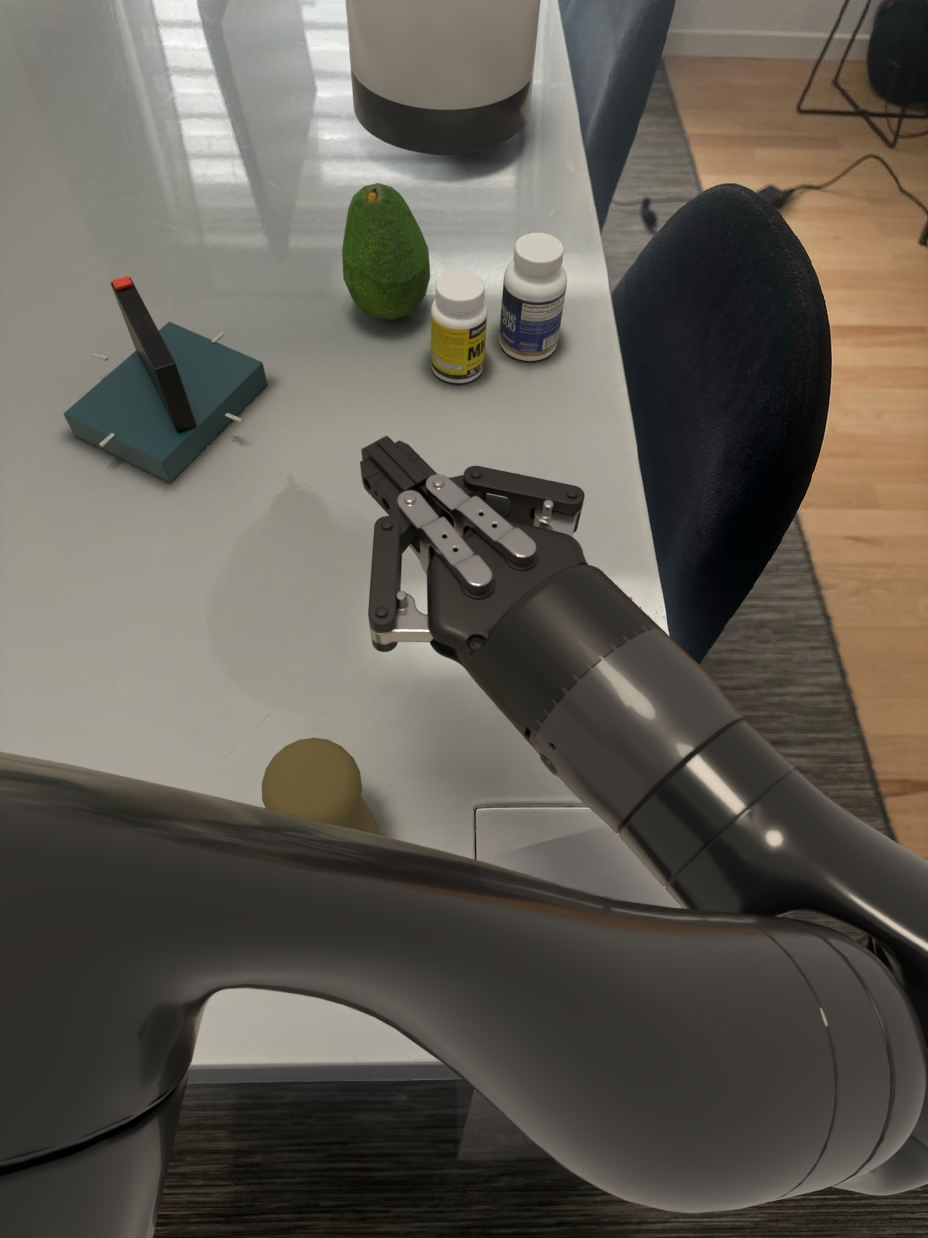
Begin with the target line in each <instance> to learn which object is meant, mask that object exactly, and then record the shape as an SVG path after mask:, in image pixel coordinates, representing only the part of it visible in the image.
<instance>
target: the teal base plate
mask: <svg viewBox="0 0 928 1238" xmlns="http://www.w3.org/2000/svg"><path fill="white" fill-rule="evenodd" d="M158 331H159V332H160V334H161V336H162V338H163V340H164V342H165V344H166V346H167V348H168V350H169V351H170V353H171V355H172V357H173V359H174V361H175V363H176V366H177V369H178V372H179V375H180V378H181V380H182V383H183V386H184V389H185V392H186V395H187V398H188V401H189V404H190V407H191V410H192V413H193V416H194V419H195V422H196V425H197V427H195V428H192V429H189V430H186V431H183V432H180V433H177V431H176V429H175V427H174V425H173V423H172V421H171V419H170V417H169V415H168V413H167V411H166V409H165V407H164V405H163V403H162V401H161V399H160V397H159V395H158V393H157V391H156V389H155V387H154V385H153V383H152V381H151V379H150V377H149V375H148V373H147V371H146V369H145V367H144V365H143V363H142V361H141V359H140V357H139V355H138V353H137V351H136V350H135V351H134V352H132V353H130V355H129V356H128V357H127V358H125V359H124V360H123V361H122V362H120V363H119V365H117V366H116V367H115V368H114V369H113V370H111V372H109V373H108V374H107V375H106V376H104V378H102V379H101V380H100V381H99V382H97V384H96V385H95V386H93V387H92V388H91V389H89V390H88V391H87V392H86V393H85V394H84V395H83V396H82V397H80V398H79V399H78V400H76V402H75V403H74V404H73V405H71V406H70V407H69V408H68V409H66V410H65V412H63V416H64V418H65V421H66V422H67V424H68V426H69V428H70V430H71V432H72V434H73V436H74V437H76V438H78V439H80V440H82V441H84V442H86V443H88V444H91V445H93V446H94V447H97V448H98V449H100V450H102V451H105V452H107V453H109V454H111V455H113V456H114V457H117V458H118V459H121V460H123V461H125V462H127V463H129V464H131V465H133V466H134V467H138V468H139V469H141V470H143V471H145V472H147V473H149V474H151V475H153V476H155V477H157V478H159V479H161V480H164V481H165V482H167V483H169V484H170V483H172V482H173V481H174V480H175V479H176V478H177V477H178V476H179V475H180V473H182V472H183V471H184V470H185V469H186V468H187V467H188V466H189V465H190V464H191V463H192V462H193V461H194V460H195V458H197V457H198V456H199V455H200V454H201V453H202V452H203V451H204V449H206V447H208V446H209V444H210V443H211V442H213V441H214V440H215V438H216V437H217V436H219V434H221V432H222V431H223V430H225V428H226V427H227V426H228V425H229V424H230V423H231V422H232V421H234V422H236V423H238V424H240V423H241V422H242V421H243V419H242V418H240V417H238V415H239V414H241V412H242V411H243V410H244V409H246V407H247V406H249V404H250V403H251V402H252V401H253V400H254V399H255V398H256V397H257V396H258V395H259V394H260V393H261V392H262V391H263V390H264V389H265V388H266V387H267V385H268V380H267V376H266V372H265V367H264V362H263V361H260V360H258V359H256V358H254V357H252V356H249V355H247V354H245V353H242V352H241V351H238V350H236V349H233V348H231V347H228V346H226V345H225V344H222V343H220V342H219V341H220V340H221V339H222V338H223V337H224V336H225V335H226V334H225V332H223V331H220V332H219V333H218V334H217V335H216V336H215V337H213V339H211V338H208V337H206V336H203V335H201V334H199V333H196V332H195V331H192V330H189V329H188V328H185V327H183V326H181V325H178V324H176V323H174V322H172V321H168V322H167V323H166V324H164V325H163V326H161V328H159V329H158ZM92 356H93V357H95V358H97V359H100V360H102V361H104V362H107V361H108V360H109V357H108V356H105V355H104V354H102V353H100V352H97V351H94V352H93V353H92Z"/></svg>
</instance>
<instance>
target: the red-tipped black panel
mask: <svg viewBox="0 0 928 1238" xmlns="http://www.w3.org/2000/svg"><path fill="white" fill-rule="evenodd" d="M110 287H111V288H112V292H113V294H114V296H115V299H116V302H117V304H118V308H119V309H120V312H121V315H122V317H123V320H124V322H125V323H124V324H125V325H126V327H127V328H126V329H127V330H128V333H129V335H130V338H131V341H132V344H133V346H134V349H135V351H137V353H138V355H139V357H140V359H141V361H142V363H143V365H144V367H145V369H146V371H147V373H148V375H149V377H150V379H151V381H152V383H153V385H154V387H155V389H156V391H157V393H158V395H159V397H160V399H161V401H162V403H163V405H164V407H165V409H166V411H167V413H168V415H169V417H170V419H171V421H172V423H173V425H174V427H175V429H176V431H177V433H180V432H183V431H186V430H189V429H192V428H195V427H197V425H196V422H195V419H194V416H193V413H192V410H191V407H190V404H189V401H188V398H187V395H186V392H185V389H184V386H183V383H182V380H181V378H180V375H179V372H178V369H177V366H176V363H175V361H174V359H173V357H172V355H171V353H170V351H169V350H168V348H167V346H166V344H165V342H164V340H163V338H162V336H161V334H160V332H159V329H158V327H157V324H156V323H155V320H154V319H153V317H152V316H151V313H150V312H149V310H148V308H147V306H146V304H145V302H144V300H143V298H142V296H141V295H140V293H139V291H138V288H137V286H136V285H135V283H134V281H133V279H132V277H130V276H129V275H125V276H123V277H119V278H115V279H112V280H111V282H110Z"/></svg>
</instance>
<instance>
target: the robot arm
mask: <svg viewBox="0 0 928 1238" xmlns="http://www.w3.org/2000/svg"><path fill="white" fill-rule="evenodd" d="M360 450H361V451H360V452H361V461H359V468H360V476H361V483H362V485H363V488H364V490H365V491H366V492H367V494H369V495H370V496H371V498H372V499H373V500H374V501H375V502H376V503H377V504H378V505H379V507H381V509H382V510H383V511H384V512H385V513H386V514H387V515H383V516H380V517H379V518H378V519H377V520H376V521H375V522H374V525H373V538H372V551H371V553H372V554H371V565H370V566H371V567H370V581H369V593H368V606H367V607H368V609H367V617H368V627H369V633H370V638H371V639H370V640H371V644H372V647H373V648H374V649H375V650H376V651H378V652H381V653H388V652H392V651H393V650H395V649H396V647H397V646H398V644H399V643H429V644H430V646H431V648H432V649H433V650H434V651H435V652H436V654H438V655H440V656H442V657H444V658H447V659H450V660H452V661H454V662H455V663H457V664H459V666H462V667H463V668H464V669H465V671H466V672H467V673H468V675H469V676H470V677H471V678H472V680H473V681H474V682H475V683H476V684H477V686H478V687H479V688H480V689H481V690H482V692H483V693H484V694H486V696H487V697H488V698H489V699H490V701H491V702H492V703H493V704H494V705H495V706H496V707H497V709H498V710H499V711H500V712H501V713H502V714H503V715H504V716H505V718H506V719H507V720H508V721H509V722H510V723H511V725H512V726H513V727H514V728H515V729H516V730H517V732H519V733H520V735H521V736H522V737H523V738H524V740H526V742H527V743H528V744H529V745H530V747H532V748H533V750H534V751H535V752H536V753H537V755H538V756H539V760H540V762H542V764H543V765H544V766H545V767H546V769H547V770H548V771H549V772H550V773H551V774H552V775H553V776H556V777H557V778H558V779H560V780H561V781H562V783H563V784H564V785H565V786H566V787H567V789H568V790H569V791H571V792H572V794H574V796H575V797H576V798H577V799H578V800H579V801H581V803H583V804H584V805H585V806H586V807H587V808H588V809H589V810H591V811H592V812H593V813H594V814H595V815H596V816H598V817H599V818H600V819H601V820H602V821H603V822H604V823H605V824H607V825H608V826H609V827H610V829H611V830H612V831H613V832H614V833H615V834H618V836H619V838H620V840H622V843H624V844H625V845H626V846H627V848H628V849H630V851H631V852H632V853H633V854H634V856H636V858H638V860H639V861H640V862H641V863H642V864H643V866H644V867H645V868H646V869H647V870H648V871H649V872H650V874H651V875H652V876H653V877H654V878H655V879H656V880H657V881H658V883H659V884H660V885H661V886H662V887H664V889H665V891H666V892H667V893H668V894H669V895H670V896H671V897H672V899H673V900H674V901H675V902H676V903H677V904H678V905H679V906H680V907H673V906H666V905H658V904H652V903H645V902H639V901H633V900H627V899H622V898H618V897H617V898H616V897H612V896H609V895H603V894H599V893H595V892H593V891H592V892H590V891H587V890H584V889H580V888H576V887H572V886H569V885H565V884H562V883H557V882H554V881H551V880H547V879H544V878H541V877H537V876H534V875H531V874H526V873H523V872H520V871H518V870H517V871H516V870H513V869H509V868H506V867H503V866H500V865H496V864H492V863H489V862H486V861H483V860H478V859H474V858H471V857H467V856H464V855H459V854H455V853H452V852H448V851H444V850H440V849H437V848H432V847H428V846H425V845H420V844H417V843H412V842H409V841H405V840H400V839H395V838H392V837H388V836H383V835H380V834H379V835H376V834H372V833H367V832H363V831H359V830H355V829H351V828H347V827H342V826H338V825H334V824H330V823H326V822H321V821H317V820H313V819H309V818H305V817H300V816H296V815H292V814H288V813H283V812H279V811H275V810H271V809H266V808H265V807H263V806H257V805H253V804H249V803H244V802H240V801H237V800H233V799H227V798H223V797H219V796H215V795H211V794H206V793H203V792H202V793H201V792H198V791H193V790H188V789H183V788H179V787H176V786H170V785H166V784H161V783H157V782H152V781H149V780H148V781H147V780H144V779H143V780H142V779H139V778H134V777H129V776H124V775H119V774H115V773H111V772H106V771H101V770H96V769H93V768H88V767H84V766H80V765H74V764H70V763H64V762H59V761H54V760H48V759H43V758H38V757H33V756H32V757H31V756H26V755H20V754H15V753H9V752H5V751H0V1238H154V1234H155V1230H156V1225H157V1220H158V1216H159V1211H160V1207H161V1203H162V1199H163V1193H164V1189H165V1184H166V1179H167V1175H168V1171H169V1167H170V1161H171V1157H172V1153H173V1148H174V1143H175V1139H176V1136H177V1135H176V1134H177V1130H178V1125H179V1121H180V1116H181V1112H182V1108H183V1103H184V1098H185V1094H186V1089H187V1084H188V1080H189V1075H190V1066H191V1064H192V1062H193V1058H194V1054H195V1049H196V1044H197V1039H198V1036H199V1033H200V1032H199V1031H200V1028H201V1024H202V1020H203V1016H204V1012H205V1009H206V1007H207V1005H208V1002H209V1001H210V1000H211V998H212V997H213V996H214V995H215V994H217V993H219V992H221V991H225V990H242V989H243V990H244V989H250V990H258V991H268V992H275V993H276V992H277V993H282V994H292V995H295V996H296V995H297V996H301V997H302V996H303V997H309V998H315V999H319V1000H322V1001H326V1002H330V1003H333V1004H334V1003H335V1004H338V1005H342V1006H344V1007H347V1008H349V1009H351V1010H354V1011H357V1012H359V1013H362V1014H363V1015H367V1016H370V1017H372V1018H374V1019H376V1020H378V1021H380V1022H382V1023H383V1024H385V1025H387V1026H389V1027H391V1028H393V1030H396V1031H397V1032H399V1034H402V1036H404V1037H406V1038H407V1039H408V1040H410V1041H411V1042H413V1043H414V1044H416V1045H417V1046H419V1047H420V1048H421V1049H422V1050H424V1051H425V1052H427V1053H428V1054H430V1056H432V1057H434V1058H435V1059H436V1060H438V1061H439V1062H441V1063H442V1064H443V1065H445V1066H446V1067H447V1068H448V1069H450V1070H451V1071H452V1072H453V1073H454V1074H456V1075H457V1077H459V1078H460V1079H461V1080H463V1082H464V1083H466V1084H467V1085H468V1086H470V1087H471V1088H472V1090H474V1091H476V1092H477V1094H479V1095H480V1096H481V1097H482V1098H484V1099H485V1101H487V1102H488V1103H489V1104H490V1105H491V1106H492V1107H493V1108H494V1109H496V1110H497V1111H498V1113H500V1114H501V1115H502V1116H503V1117H504V1118H505V1119H506V1120H507V1121H509V1122H510V1123H511V1124H512V1125H513V1126H514V1127H515V1128H516V1129H517V1130H518V1131H520V1133H522V1134H523V1135H524V1136H525V1137H526V1138H528V1140H530V1141H531V1142H532V1143H534V1144H535V1145H536V1146H537V1147H539V1148H540V1149H541V1150H542V1151H544V1152H545V1153H546V1154H547V1155H548V1156H550V1157H551V1158H552V1159H553V1160H554V1161H556V1162H557V1163H558V1164H559V1165H561V1166H562V1167H563V1168H564V1169H565V1170H567V1171H569V1172H570V1173H571V1174H574V1175H575V1176H577V1177H578V1178H580V1179H581V1180H583V1181H585V1182H587V1183H589V1184H590V1185H592V1186H595V1187H596V1188H598V1189H600V1190H602V1191H603V1192H605V1193H608V1194H609V1195H612V1196H614V1197H616V1198H619V1199H621V1200H623V1201H626V1202H630V1203H632V1204H633V1203H634V1204H637V1205H641V1206H644V1207H647V1208H652V1209H657V1210H662V1211H665V1212H671V1213H684V1214H701V1213H703V1214H704V1213H713V1212H724V1211H725V1212H726V1211H733V1210H734V1211H735V1210H741V1209H746V1208H751V1207H754V1206H758V1205H762V1204H767V1203H772V1202H775V1201H779V1200H784V1199H788V1198H792V1197H797V1196H801V1195H804V1194H805V1195H806V1194H809V1193H812V1192H817V1191H821V1190H825V1189H827V1188H830V1187H831V1188H836V1189H840V1190H847V1191H852V1192H856V1193H859V1194H865V1195H871V1196H891V1195H896V1194H901V1193H904V1192H908V1191H911V1190H913V1189H914V1190H915V1189H917V1188H920V1187H923V1186H925V1185H928V861H927V860H926V859H924V858H922V857H921V856H919V855H918V854H915V853H914V852H912V851H910V850H909V849H907V848H906V847H904V846H902V845H901V844H900V843H897V842H896V841H894V840H893V839H892V838H890V837H888V836H886V835H885V834H883V833H882V832H880V831H879V830H878V829H876V828H874V827H873V826H872V825H870V824H869V823H867V822H866V821H864V820H863V819H861V818H859V817H858V816H856V815H855V814H854V813H852V812H851V811H849V810H848V809H846V808H845V807H843V806H842V805H841V804H840V803H838V802H837V801H835V800H834V799H833V798H831V797H830V796H829V795H827V794H825V792H824V791H822V790H821V789H820V788H819V787H817V785H815V784H814V783H813V782H812V781H811V780H810V779H809V778H808V777H807V776H805V774H804V773H803V772H801V771H800V769H798V768H795V765H794V764H793V763H792V762H791V761H790V760H789V759H788V758H786V756H785V755H784V754H783V753H781V751H780V750H778V748H776V747H775V746H774V745H773V743H771V742H770V741H769V740H768V739H767V738H766V737H765V736H764V735H763V734H762V733H761V732H760V731H759V730H758V729H757V728H756V727H755V726H754V725H753V724H752V723H751V722H750V721H749V720H747V719H745V718H744V715H743V714H742V713H741V712H740V711H739V710H738V709H737V707H736V706H735V705H734V704H733V703H732V702H731V701H730V700H729V698H728V697H727V696H726V695H725V693H724V691H723V690H722V689H721V688H720V687H719V686H718V684H717V683H716V681H714V679H713V678H712V677H711V675H710V674H709V673H708V672H707V671H706V670H705V669H704V668H703V667H702V666H701V665H700V663H698V662H697V661H696V660H695V659H694V658H693V657H692V656H690V654H689V653H688V652H686V651H685V649H683V648H682V647H681V646H680V645H679V644H678V643H677V642H676V641H675V640H674V639H673V638H672V637H671V636H670V634H668V633H667V632H666V631H665V630H664V629H663V628H662V627H661V626H660V625H659V624H658V623H656V622H655V620H653V619H652V618H651V617H650V616H649V614H647V613H646V612H645V611H644V610H643V609H642V608H641V607H640V605H638V604H637V603H635V601H634V600H632V599H631V598H630V597H629V596H628V594H626V593H625V592H624V590H622V589H621V588H620V587H619V586H618V585H617V584H616V583H615V582H614V581H613V580H612V579H611V578H610V577H609V576H608V575H607V574H606V573H605V572H604V571H602V570H601V569H600V568H599V567H597V566H595V565H591V564H589V563H588V561H587V559H586V557H585V555H584V550H583V548H582V545H581V544H580V543H579V541H578V540H577V539H576V538H575V537H573V536H574V534H575V533H576V532H577V530H578V527H579V523H580V520H581V519H580V518H581V515H582V510H583V506H584V501H585V491H584V490H583V489H582V488H581V487H579V486H577V485H574V484H568V483H566V482H565V483H564V482H559V481H554V480H550V479H545V478H540V477H536V476H530V475H525V474H521V473H520V474H519V473H515V472H512V471H511V472H510V471H506V470H501V469H497V468H496V469H495V468H491V467H486V466H480V465H471V466H468V467H467V468H466V469H465V470H464V471H463V474H460V475H456V476H451V477H448V476H447V475H445V474H441V473H438V472H437V471H435V470H434V469H433V468H432V467H431V466H430V464H428V463H427V462H426V461H425V459H424V458H422V456H420V454H419V453H417V451H415V449H414V448H413V447H411V445H410V444H408V443H407V442H404V441H402V440H397V441H394V440H392V438H391V437H390V436H388V435H384V436H383V437H380V438H379V439H377V440H375V441H373V442H371V443H370V444H368V445H366V446H364V447H362V448H361V449H360ZM408 548H410V549H411V550H412V552H413V554H414V555H415V556H416V557H417V559H418V561H419V563H420V566H421V568H422V570H423V572H424V573H425V574H426V605H427V606H426V611H427V613H423V612H421V611H420V610H419V609H418V607H417V605H416V600H415V598H414V596H412V595H411V594H409V593H407V592H406V591H405V590H401V589H402V569H403V568H402V567H403V554H404V553H405V551H406V550H407V549H408ZM803 912H804V913H805V912H808V913H809V912H811V913H816V914H820V915H823V916H825V917H828V918H831V919H833V920H837V921H838V922H841V923H842V924H845V925H848V926H850V927H852V928H853V929H855V930H856V931H857V930H858V931H860V932H861V933H863V934H864V935H862V936H861V937H860V938H859V939H857V940H855V939H854V938H853V937H850V936H848V935H847V934H845V933H842V932H840V931H839V930H836V929H833V928H831V927H829V926H826V925H822V924H819V923H815V922H812V921H808V920H804V919H797V918H791V917H787V916H790V915H795V914H798V913H803Z"/></svg>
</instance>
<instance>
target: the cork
mask: <svg viewBox="0 0 928 1238" xmlns="http://www.w3.org/2000/svg"><path fill="white" fill-rule="evenodd" d="M362 791H363V785H362V775H361V770H360V768H359V766H358V764H357V762H356V760H355V758H354V757H353V756H352V754H350V753H349V752H348V751H347V749H345V747H343V746H342V745H341V744H338V743H337V742H334V741H333V740H330V739H328V738H327V739H326V738H319V737H309V738H302V739H297V740H296V741H294V742H291V743H289V744H287V745H285V746H284V747H282V748H281V749H280V750H279V751H277V753H276V754H274V755H273V757H272V758H271V759H270V761H269V763H268V764H267V766H266V768H265V771H264V774H263V778H262V782H261V801H262V804H263V806H264V808H266V809H271V810H275V811H279V812H283V813H288V814H292V815H296V816H300V817H305V818H309V819H313V820H317V821H321V822H326V823H330V824H334V825H338V826H342V827H347V828H351V829H355V830H359V831H363V832H367V833H372V834H376V835H380V833H379V825H378V822H377V820H376V818H375V816H374V813H373V812H372V810H371V809H370V807H369V806H368V804H367V803H366V802H365V800H364V798H363V797H362Z"/></svg>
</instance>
